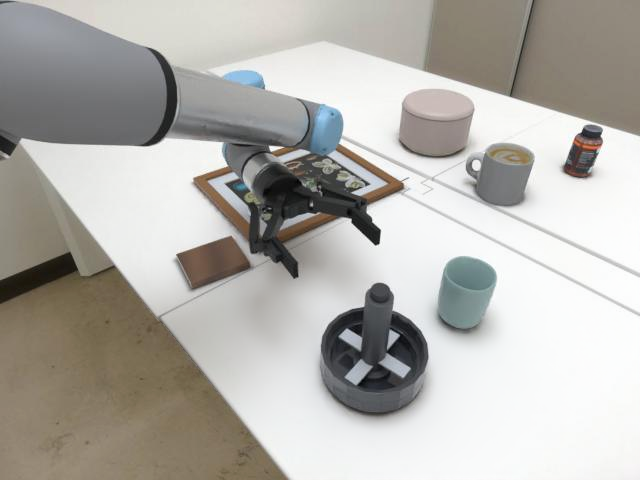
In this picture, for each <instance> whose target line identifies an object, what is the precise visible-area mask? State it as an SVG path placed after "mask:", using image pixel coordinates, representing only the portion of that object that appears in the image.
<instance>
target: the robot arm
mask: <svg viewBox="0 0 640 480" xmlns="http://www.w3.org/2000/svg"><path fill="white" fill-rule="evenodd" d="M264 80H265V79H264V77H263V74H260V73H259V72H258V71H255V70H249V69H239V70H233V71H230V72H227V73H225V74H224V75H223V76H222V77H220V76H216V75H212V74H209V73H205V72H202V71H198V70H197V71H196V70H193V69H189V68H185V67H182V66H179V65H175V64H172V63H171V61H170V60H169V59H168V58H167V57H166V56H165V55H164V54H163V53H162V52H161V51H159V50H158V49H155V48H152V47H148V46H144V45H141V44H138V43H135V42H133V41H131V40H127V39H125V38H122V37H120V36H117V35H115V34H112V33H109V32H106V31H104V30H102V29H101V28H98V27H95V26H93V25H91V24H88V23H87V22H84V21H82V20H80V19H77V18H75V17H72V16H70V15H68V14H66V13H62V12H61V11H57V10H54V9H52V8H50V7H46V6H43V5H39V4H35V3H31V2H24V1H17V0H0V162H2V161H7V160H9V159H10V157H11V156H12V154H13V153H14V151H15V150H16V148H17V147H18V145H19V143H20V142H21V140H22V139H24V140H29V141H34V142H40V143H48V144H61V145H80V146H81V145H83V146H117V147H118V146H120V147H141V148H142V147H143V148H145V147H154V146H157V145H159V144H161V143H162V142H163V141H165V139H172V140H173V139H174V140H187V141H198V142H199V141H200V142H212V143H222V146H221V154H222V158H223V159H224V161H225V163H226V165H227V166H229V167H230V169H231V170H232V171H233V172H234V173H235V174H236V175H237V176H238V177H239V178H240V180H241V181H242V182H243V183H244V184H245V185H246V186H247V188H248V189H249V190H250V191H251V192H252V193H253V195H254V196H255V197H256V198H257V200H258V201H259V202H260V203H261V204H259V205H256V204H255V203H254V202H249V203H248V212H249V218H250V226H249V238H248V239H247V240H248V244H249V245H248V246H249V252H250V254H251V255H257V254H259V251H261V252H263V256H264V257H269V258H270V259H271V261H272V262H273V263H274V264H279V263H281V265H282V266H283V268H285V270H286V271H287V272H288V273H289V275H290V276H291V277H292V279H293V280H294V279H297V278H299V276H300V275H299V262H298V261H297V260H296V258H295V257H294V256H293V254H292V253H291V252H290V251H289V250H288V248H287V247H286V245H284V243H283V242H281V241H280V240H279V239H278V237H277V235H278V233H279V230H280V228H281V226H282V225H283V223H284V220H285V218H290V219H292V218H294V217H296V216H298V215H303V214H306V213H312V214H317V213H318V212H319V213H324V214H329V215H334V216H339V217H338V218H340V217H341V218H344V219H345V218H346V219H349V220H350V223H351V225H353V226H354V227H355V228H356V229H357V230H358V232H360V233H361V234H362V235H363V236H364V237H365V238H366V239H368V240H369V241H370V243H372V244H373V245H374V246H375V247H377V246H380V244H381V234H382V229H381V228H380V227H379V226H378V225H376V224H375V223H374V222H373V217H372V216H371V215H370V214H368V212H367V211H368V204H367V198H364V197H361V196H358V195H355V194H353V193H350V192H347V191H344V190H341V189H338V188H335V187H332V186H329V185H328V184H326V183H325V182H323V181H321V180H319V181H317V182H316V185H317V186H315V187H312V188H309V187H306V186H304V185H303V184H302V183H301V181H300V180H299V178H298V177H297V176H296V175H295V174H294V173H293V172H292V171H291V170H290V169H288V168H287V166H286V165H285V164H284V163H283V162H281V161H280V160H279V159H278V158H277V157H276V156H275V155H274V154H273V153H272V150H271V149H270V147H277V148H278V147H280V148H284V147H286V148H296V149H302V150H306V151H309V152H310V153H317V154H321V155H329V154H330V153H332V152H333V151H334V150H335V149H336V148H337V146H338V144H340V143H341V139H342V137H343V132H344V117H343V115H342V112H341V111H340V110H339V109H338V108H336V107H332V106H329V105H326V104H325V103H318V102H314V101H310V100H308V99H307V100H305V99H302V98H298V97H295V96H291V95H288V94H283V93H280V92H277V91H272V90H270V89H269V90H268V89H266V84H265V81H264ZM311 200H313V207H312V206H310V205H311ZM351 210H352V211H351ZM264 212H266V213H268V214H271V217H270V220H269V222H268V224H267V226H266V229H265V231H264V233H263V236H262V238H259V234H260V219H262V218H261V217H262V216H263V213H264Z"/></svg>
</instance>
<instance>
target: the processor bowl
mask: <svg viewBox="0 0 640 480" xmlns="http://www.w3.org/2000/svg"><path fill="white" fill-rule="evenodd" d="M363 318H364V306H360V307H355V308H351V309H348V310H346V311H344V312H342V313H340V314H338V315H337V316H336V317H334V319H332V320H331V321H330V322H329V323H328V325H327V326H326V328H325V330H324V332H323V334H321V335H322V336H321V343H320V370H321V374H322V378H323V381H324V383H325V385H326V386H327V388H328V389H329V391H330V392H331V394H332V395H333V396H334V397H336V398H337V399H338V400H340V401H341V402H342V403H344V404H345V405H346V406H348V407H351V408H353V409H355V410H358V411H361V412H367V413H369V412H370V413H376V414H377V413H379V414H381V413H386V412H391V411H395V410H396V411H397V410H399V409H400V408H402V407H403V406H405V405H408V404H409V403H410V402H412V401H413V399H415V398H416V396H417V395H418V393H419V392H420V391H421V389H422V386H423V382H424V379H425V376H426V371H427V366H428V363H429V360H430V359H429V358H430V355H429V347H428V345H429V344H428V341H427V340H426V337H425V336H424V334H423V332H422V330H421V329H420V328H419V327H418V326H417V324H415V323H414V321H412V319H410V318H409V317H407V316H405V315H403V314H402V313H400V312H398V311H395V310H392V317H391V325H390V330H392V331H394V332H395V333H397V334H399V335H400V337H399V338H398V339H397V340H396V342H395V343H394V344H393V345H392V346H391V347H390V348H389V350H388V351H387V353H388V354H389V355H390V356H392V357H394V358H395V359H397V360H399V361H400V362H402V363H403V364H405V365H407V366H408V367H410V368H411V370H410V372H409V373H408V374H407V375H406V377H405V378H404V379H401V378H400V377H398V376H397V375H395V374H394V373H392V372H390V374H389V376H388V377H387V378H385V379H384V380H382V381H379V382H369V381H366V380H362V381H361V382H360V383H359V384H358V385H354V384H352V383H349V382H348V381H347V380H345V379H344V377H345V376H346V375H347V374H348V373H349V372H350V371H351V370H352V368H353V358H354V355H355V353H356V352H357V351H358V350H356V349H355V348H353V347H352V346H350V345H348V344H347V343H345V342H344V341H342V340H341V339H339V336H340V335H341V334H342V333H343V332H344V331H345V330H346V329H349V330H350V331H352V332H353V333H355V334H357V335H358V336H360V337H362V331H363Z"/></svg>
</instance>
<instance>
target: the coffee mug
mask: <svg viewBox="0 0 640 480" xmlns="http://www.w3.org/2000/svg"><path fill="white" fill-rule="evenodd" d="M476 160H477V161H479V163H480V168H479V169H478V170H476V169H474V168H473V162H474V161H476ZM535 161H536V155H535V153H534V152H533V151H532V150H531V149H530V148H528V147H525V146H524V145H521V144H517V143H512V142H496V143H495V142H494V143H491V144H489V145H488V146H487V147H486V149H485V151H484V152H480V151H479V152H477V151H476V152H472V153H470V154H469V156H468V157H467V159H466V162H465V171H466V173H467V175H468V176H470V177H471V178H472V179H474V180H475V181H476V188H475V189H476V190H475V191H476V194H477V196H478V197H479V198H480V199H482V200H483V201H484V202H485V201H486V202H487V203H490V204H492V205H495V206H496V205H497V206H513V205H516V204H519V203H520V202H521V201H522V200H523V198H524V195H525V194H524V193H525V190H526V187H527V185H528V182H529V179H530V175H531V173H532V169H533V166H534V163H535Z"/></svg>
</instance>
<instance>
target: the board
mask: <svg viewBox="0 0 640 480" xmlns="http://www.w3.org/2000/svg"><path fill="white" fill-rule="evenodd" d="M175 255H176V259H177V260H176V261H177V262H178V264H179V266H180V267H181V269H182V272H183V273H184V275H185V277H186V279H187V281H188V284H189V286H190V287H191V290H195V289H197V288H200V287H202V286H206V285H208V284H210V283H213V282H216V281H218V280H221V279H224V278H226V277H229V276H232V275H234V274H237V273H240V272H243V271H246V270H248V269H251V262H250V261H249V259H248V258H247V256H246V255H245V253H244V251H243V250H242V249H241V248H240V246H239V245H238V243H237V241H236V240H235V238H234V237H233V236H232V235H228V236H225V237H222V238H219V239H217V240H213V241H211V242H207V243H204V244H202V245H199V246H196V247H194V248H190V249H187V250H184V251H181V252H179V253H178V252H177V253H176V254H175Z"/></svg>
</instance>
